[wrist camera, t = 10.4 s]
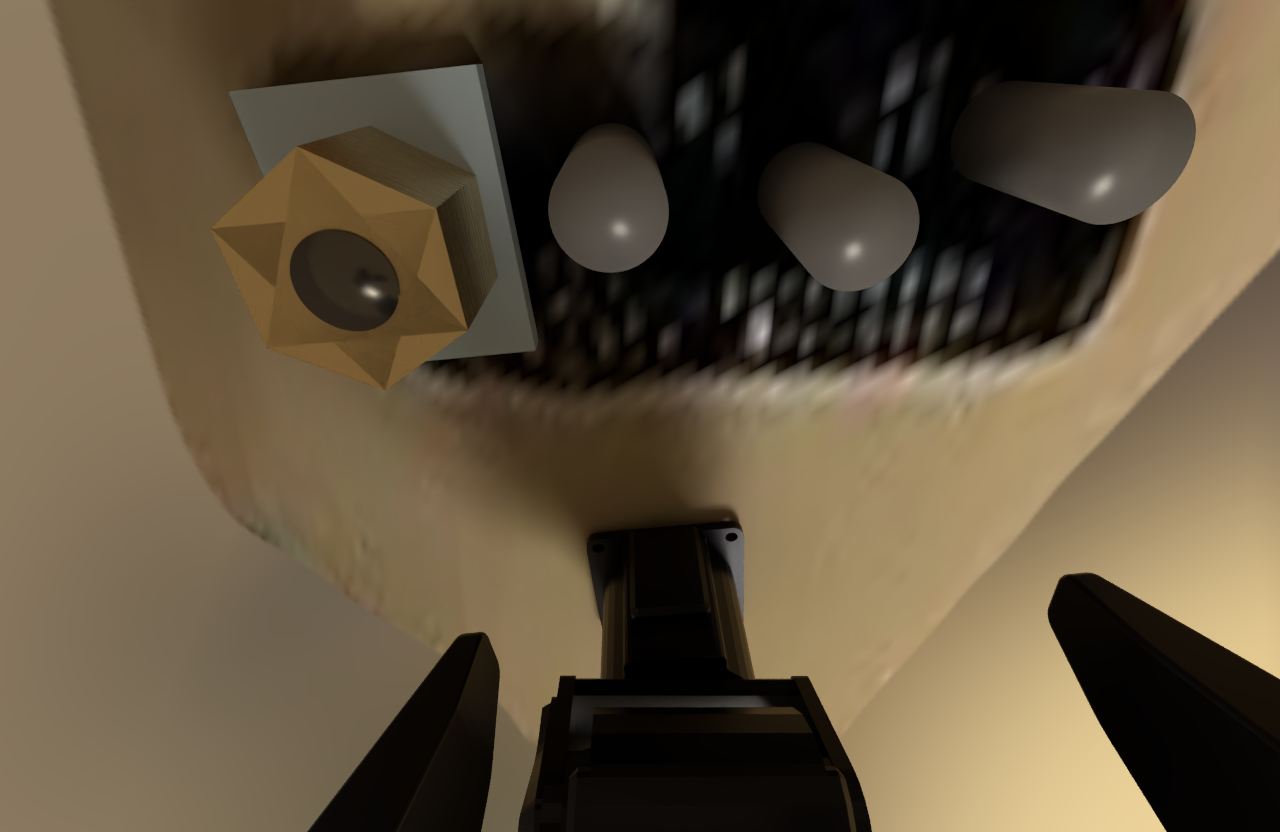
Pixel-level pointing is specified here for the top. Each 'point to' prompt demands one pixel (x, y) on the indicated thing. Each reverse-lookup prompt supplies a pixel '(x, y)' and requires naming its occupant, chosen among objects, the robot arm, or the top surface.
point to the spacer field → (894, 179)
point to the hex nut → (361, 255)
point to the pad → (434, 122)
